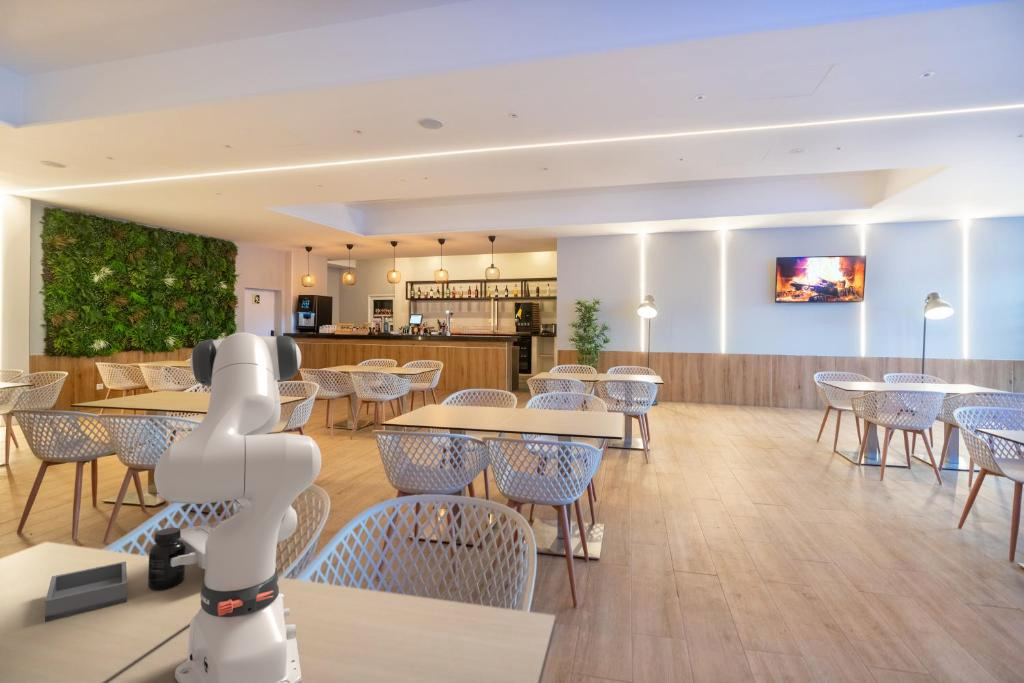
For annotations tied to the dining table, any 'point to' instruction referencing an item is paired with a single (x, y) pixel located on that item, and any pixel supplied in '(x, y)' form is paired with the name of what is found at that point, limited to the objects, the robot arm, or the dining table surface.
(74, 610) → the tray
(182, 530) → the robot arm
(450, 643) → the dining table surface
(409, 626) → the dining table surface
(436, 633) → the dining table surface
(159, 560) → the supplement bottle
